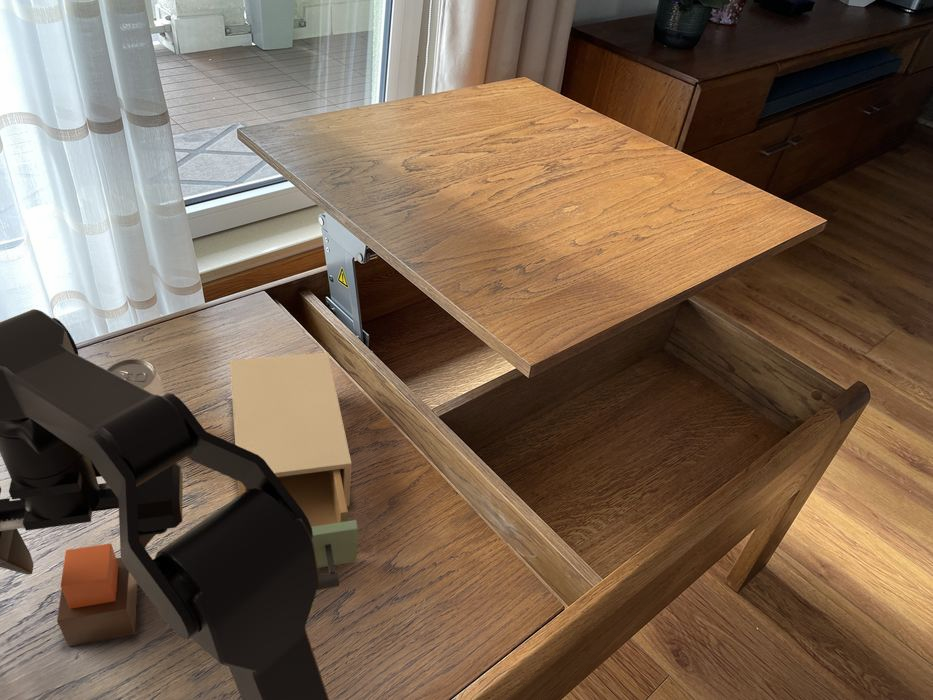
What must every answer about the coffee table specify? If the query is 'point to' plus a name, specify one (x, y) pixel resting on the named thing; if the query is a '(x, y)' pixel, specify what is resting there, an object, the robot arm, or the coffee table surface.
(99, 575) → the block
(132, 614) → the brown cube
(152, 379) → the can
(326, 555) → the drawer
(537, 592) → the coffee table surface
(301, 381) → the cabinet
